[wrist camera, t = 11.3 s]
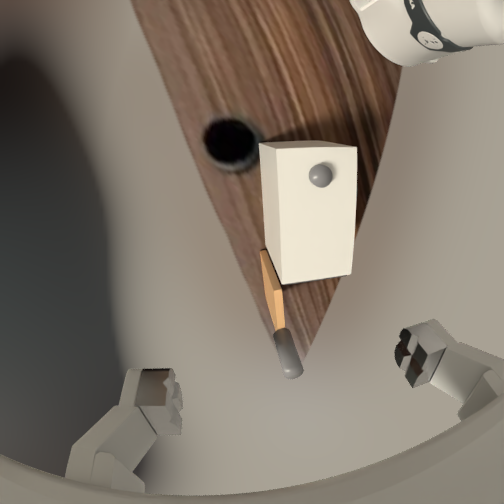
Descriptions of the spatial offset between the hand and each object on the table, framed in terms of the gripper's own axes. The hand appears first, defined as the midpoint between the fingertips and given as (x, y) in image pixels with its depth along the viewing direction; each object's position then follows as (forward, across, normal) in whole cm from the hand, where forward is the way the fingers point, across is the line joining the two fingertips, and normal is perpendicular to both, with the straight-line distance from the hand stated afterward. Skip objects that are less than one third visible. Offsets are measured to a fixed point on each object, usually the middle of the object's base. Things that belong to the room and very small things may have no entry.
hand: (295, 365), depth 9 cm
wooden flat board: (+34, +4, -16) cm, 38 cm away
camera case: (+34, +8, -3) cm, 35 cm away
